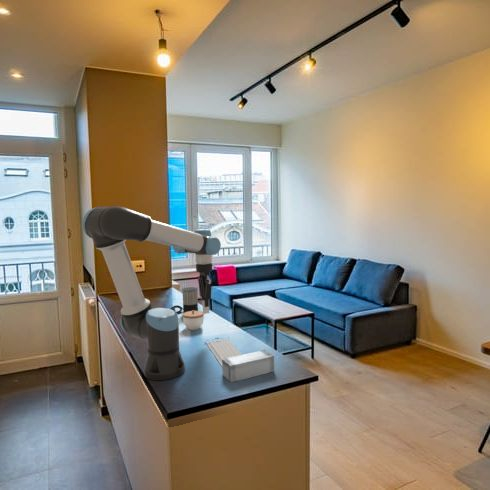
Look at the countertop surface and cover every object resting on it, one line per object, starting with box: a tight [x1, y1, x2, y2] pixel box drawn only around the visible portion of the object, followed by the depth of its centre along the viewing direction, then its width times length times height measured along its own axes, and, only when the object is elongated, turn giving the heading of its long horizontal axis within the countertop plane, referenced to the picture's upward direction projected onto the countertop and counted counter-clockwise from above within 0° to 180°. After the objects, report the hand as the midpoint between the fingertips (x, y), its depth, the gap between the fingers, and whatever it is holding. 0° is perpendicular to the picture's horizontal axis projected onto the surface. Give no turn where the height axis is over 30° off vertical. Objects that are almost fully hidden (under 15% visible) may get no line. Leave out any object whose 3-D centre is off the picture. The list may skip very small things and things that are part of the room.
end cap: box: [221, 349, 275, 383], centre depth 143 cm, size 18×7×6 cm, turn 117°
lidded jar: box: [182, 310, 205, 331], centre depth 198 cm, size 11×11×9 cm
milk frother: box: [169, 286, 199, 314], centre depth 226 cm, size 14×16×15 cm
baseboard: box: [203, 336, 243, 367], centre depth 161 cm, size 31×3×12 cm
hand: (206, 313), depth 179 cm, fingers closed
